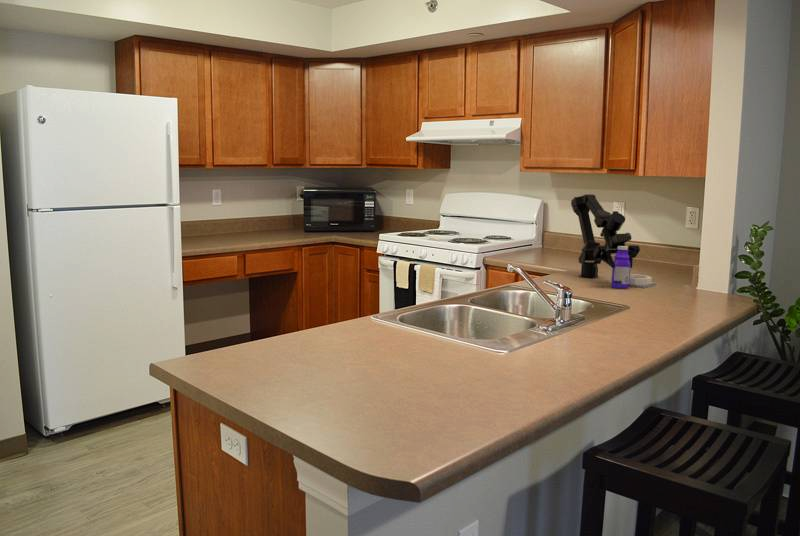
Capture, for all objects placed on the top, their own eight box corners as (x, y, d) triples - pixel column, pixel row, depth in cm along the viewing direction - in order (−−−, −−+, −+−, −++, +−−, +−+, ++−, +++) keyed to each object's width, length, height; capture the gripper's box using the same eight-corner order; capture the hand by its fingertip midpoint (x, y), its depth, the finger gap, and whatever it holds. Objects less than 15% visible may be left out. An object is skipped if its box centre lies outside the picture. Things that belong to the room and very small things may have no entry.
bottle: (627, 286, 281) (629, 245, 278) (630, 289, 275) (633, 247, 273) (609, 286, 282) (611, 245, 279) (612, 288, 276) (614, 246, 274)
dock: (613, 284, 287) (614, 276, 286) (627, 281, 296) (627, 273, 296) (643, 288, 278) (644, 280, 277) (656, 284, 287) (656, 276, 287)
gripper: (597, 226, 277) (609, 256, 268) (639, 226, 280) (652, 255, 271) (588, 243, 286) (598, 272, 277) (628, 242, 289) (640, 271, 280)
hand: (622, 267), depth 276 cm, fingers closed on bottle, 7 cm apart
